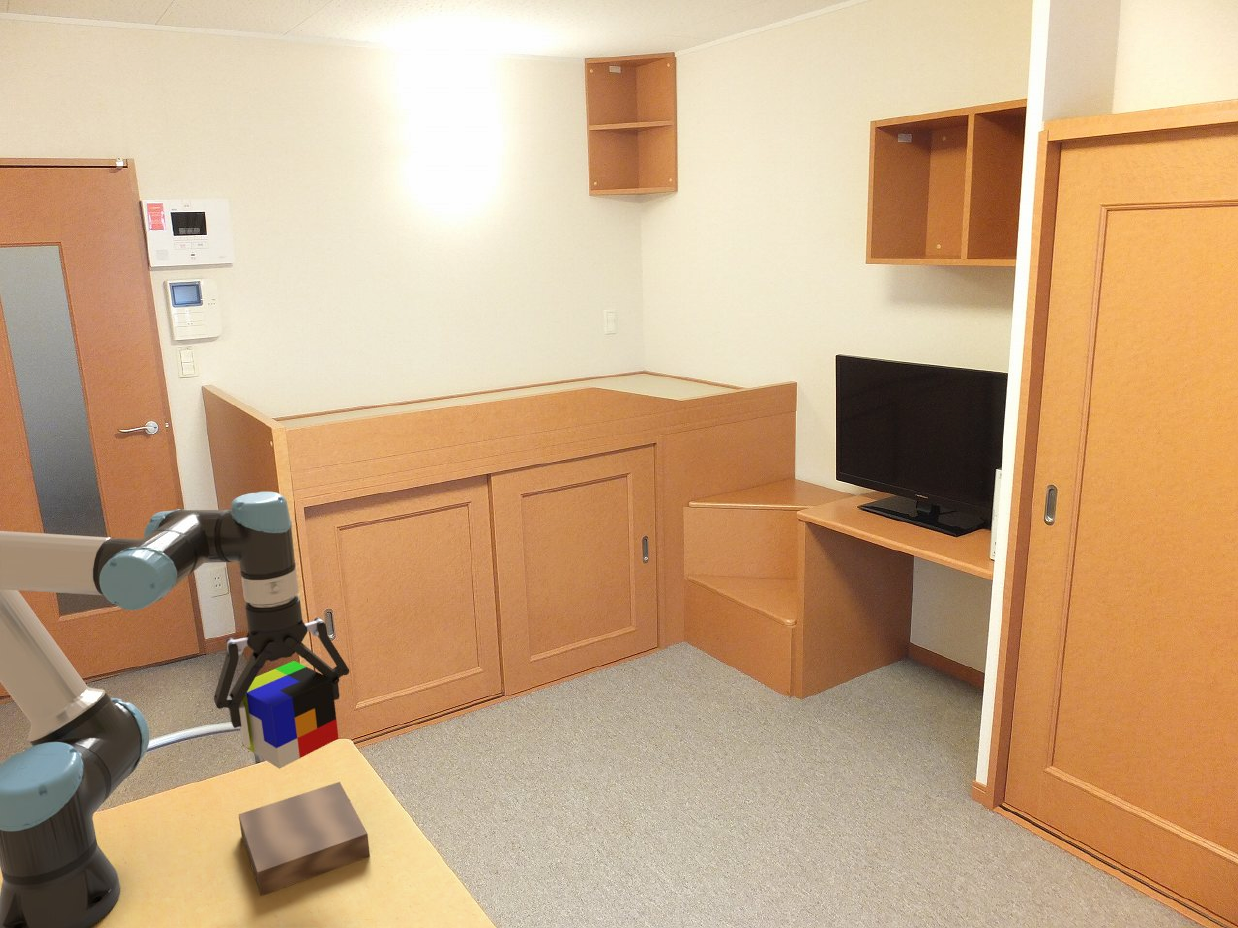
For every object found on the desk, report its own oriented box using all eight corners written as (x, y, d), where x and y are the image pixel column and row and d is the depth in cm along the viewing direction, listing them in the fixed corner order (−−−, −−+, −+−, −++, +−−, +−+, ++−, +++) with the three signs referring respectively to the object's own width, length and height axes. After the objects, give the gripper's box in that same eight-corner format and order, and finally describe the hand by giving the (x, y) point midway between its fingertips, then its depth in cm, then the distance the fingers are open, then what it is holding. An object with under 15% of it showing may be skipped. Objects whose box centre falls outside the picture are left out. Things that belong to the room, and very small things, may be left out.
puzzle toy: (279, 768, 134) (271, 706, 131) (242, 745, 140) (234, 685, 137) (338, 738, 141) (331, 679, 139) (301, 717, 147) (294, 660, 145)
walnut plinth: (261, 895, 134) (257, 872, 133) (241, 835, 148) (238, 814, 147) (369, 855, 142) (367, 833, 141) (342, 802, 156) (339, 781, 155)
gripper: (185, 627, 125) (207, 768, 131) (361, 588, 137) (375, 718, 143) (178, 608, 131) (200, 743, 137) (347, 572, 143) (361, 698, 149)
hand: (289, 731), depth 140 cm, fingers closed on puzzle toy, 12 cm apart
